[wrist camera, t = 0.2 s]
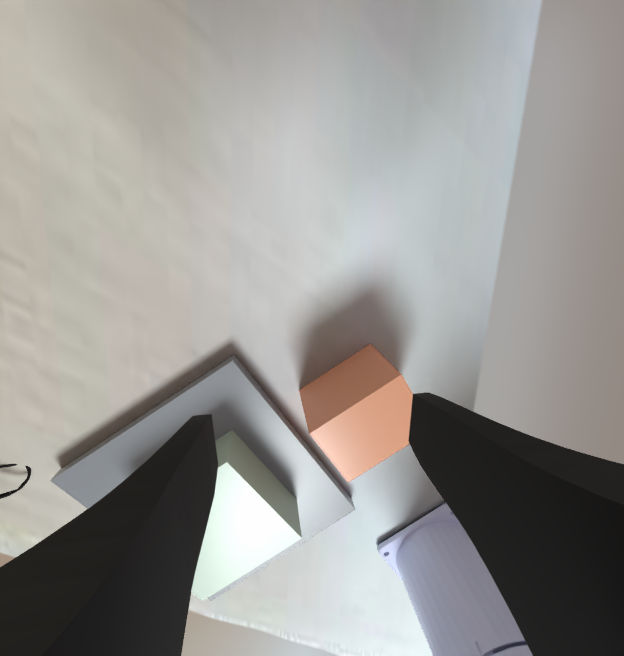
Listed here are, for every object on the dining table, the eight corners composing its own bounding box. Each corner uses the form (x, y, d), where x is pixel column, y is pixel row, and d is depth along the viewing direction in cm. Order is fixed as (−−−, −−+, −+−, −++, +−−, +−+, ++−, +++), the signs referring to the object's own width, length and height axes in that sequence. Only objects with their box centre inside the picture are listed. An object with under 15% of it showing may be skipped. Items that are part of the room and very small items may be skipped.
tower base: (351, 499, 24) (367, 546, 21) (213, 586, 25) (204, 649, 21) (233, 354, 19) (226, 383, 15) (60, 468, 20) (12, 524, 16)
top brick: (396, 388, 22) (433, 428, 17) (330, 430, 22) (348, 482, 17) (369, 343, 21) (401, 374, 16) (298, 389, 21) (309, 433, 16)
